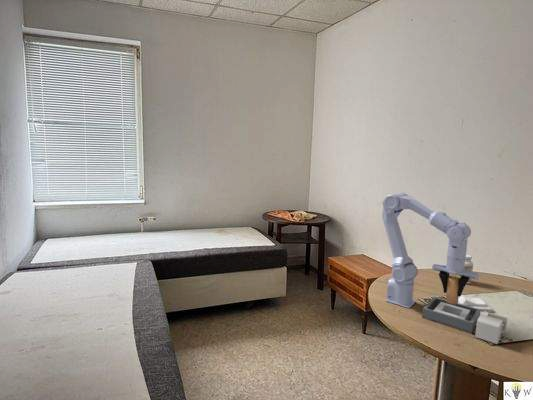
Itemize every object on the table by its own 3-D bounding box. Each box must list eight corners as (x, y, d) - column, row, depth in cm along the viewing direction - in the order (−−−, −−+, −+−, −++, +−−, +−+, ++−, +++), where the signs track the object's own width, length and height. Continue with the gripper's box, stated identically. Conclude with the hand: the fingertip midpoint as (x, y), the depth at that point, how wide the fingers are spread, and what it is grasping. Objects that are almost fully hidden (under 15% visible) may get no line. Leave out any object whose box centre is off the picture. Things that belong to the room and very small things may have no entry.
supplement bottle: (451, 279, 165) (454, 253, 163) (462, 278, 167) (465, 252, 165) (463, 285, 159) (466, 258, 157) (474, 283, 161) (477, 257, 159)
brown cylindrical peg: (444, 301, 124) (446, 277, 123) (447, 298, 127) (449, 274, 126) (456, 305, 122) (459, 280, 120) (459, 301, 125) (461, 277, 123)
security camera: (483, 309, 120) (477, 319, 113) (507, 316, 115) (502, 327, 108) (481, 326, 121) (474, 337, 114) (505, 334, 116) (500, 346, 109)
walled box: (422, 317, 127) (423, 308, 126) (433, 305, 137) (434, 296, 137) (471, 333, 116) (473, 323, 116) (479, 318, 127) (480, 309, 126)
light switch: (449, 291, 145) (483, 292, 142) (449, 300, 145) (482, 301, 143) (458, 302, 134) (495, 303, 132) (457, 312, 135) (494, 313, 132)
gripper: (431, 255, 124) (427, 291, 126) (477, 264, 114) (473, 303, 116) (436, 251, 129) (433, 285, 131) (481, 260, 120) (477, 297, 122)
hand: (452, 293), depth 124 cm, fingers closed on brown cylindrical peg, 4 cm apart
